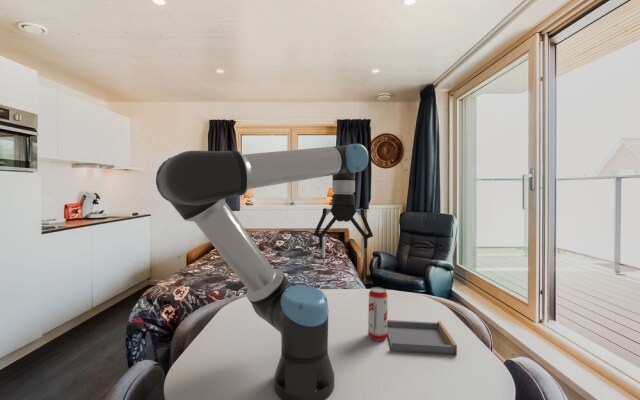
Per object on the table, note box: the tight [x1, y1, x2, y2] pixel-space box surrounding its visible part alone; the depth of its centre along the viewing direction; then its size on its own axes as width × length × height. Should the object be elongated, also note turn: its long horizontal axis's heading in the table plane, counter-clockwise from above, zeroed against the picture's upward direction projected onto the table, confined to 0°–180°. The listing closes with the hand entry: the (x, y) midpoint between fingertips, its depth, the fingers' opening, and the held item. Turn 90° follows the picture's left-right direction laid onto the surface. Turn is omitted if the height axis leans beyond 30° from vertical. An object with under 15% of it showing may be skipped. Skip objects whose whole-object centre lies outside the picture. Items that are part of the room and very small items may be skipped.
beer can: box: [367, 286, 389, 342], centre depth 96 cm, size 6×6×16 cm
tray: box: [387, 319, 458, 356], centre depth 95 cm, size 16×19×3 cm
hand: (342, 257), depth 97 cm, fingers open, 12 cm apart
